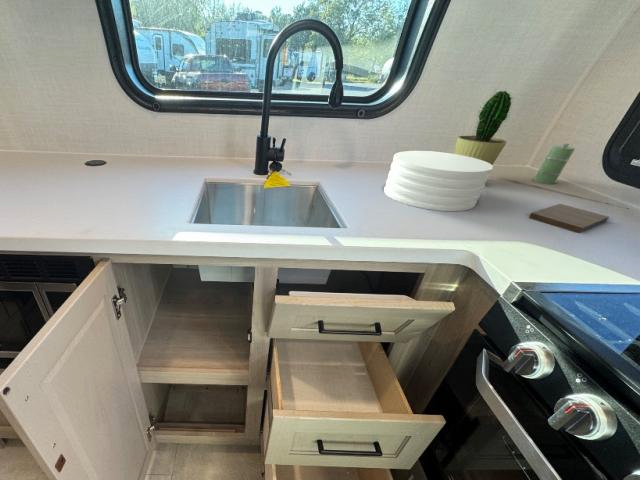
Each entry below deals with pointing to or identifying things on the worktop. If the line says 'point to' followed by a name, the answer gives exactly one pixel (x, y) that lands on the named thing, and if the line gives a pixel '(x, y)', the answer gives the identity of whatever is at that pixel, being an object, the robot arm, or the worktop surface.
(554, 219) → the walnut board
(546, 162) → the green ridged cylinder
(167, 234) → the worktop surface
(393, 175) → the plate stack
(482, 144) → the potted cactus
